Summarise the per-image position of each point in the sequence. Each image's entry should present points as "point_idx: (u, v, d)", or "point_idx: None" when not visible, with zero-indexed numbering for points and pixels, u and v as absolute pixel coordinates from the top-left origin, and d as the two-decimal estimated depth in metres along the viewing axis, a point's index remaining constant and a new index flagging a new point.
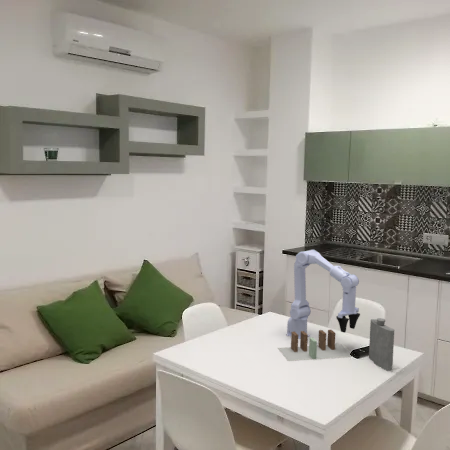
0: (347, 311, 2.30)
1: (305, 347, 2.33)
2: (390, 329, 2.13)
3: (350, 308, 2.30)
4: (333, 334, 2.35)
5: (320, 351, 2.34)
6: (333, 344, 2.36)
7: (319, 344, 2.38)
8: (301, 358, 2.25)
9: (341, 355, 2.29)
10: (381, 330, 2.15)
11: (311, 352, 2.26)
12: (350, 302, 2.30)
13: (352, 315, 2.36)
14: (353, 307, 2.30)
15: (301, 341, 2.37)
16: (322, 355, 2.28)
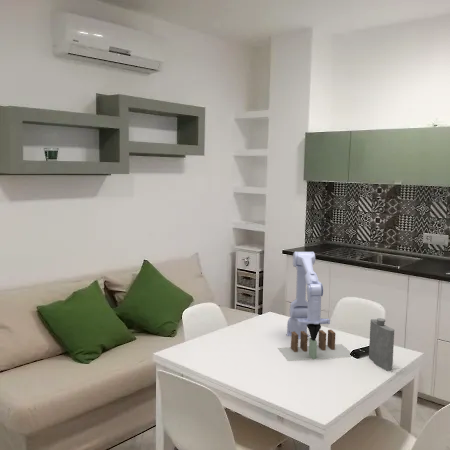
0: (308, 320, 2.24)
1: (305, 347, 2.33)
2: (390, 329, 2.13)
3: (311, 317, 2.23)
4: (333, 334, 2.35)
5: (320, 351, 2.34)
6: (333, 344, 2.36)
7: (319, 344, 2.38)
8: (301, 358, 2.25)
9: (341, 355, 2.29)
10: (381, 330, 2.15)
11: (311, 352, 2.26)
12: (310, 311, 2.23)
13: (314, 326, 2.26)
14: (315, 317, 2.22)
15: (301, 341, 2.37)
16: (322, 355, 2.28)
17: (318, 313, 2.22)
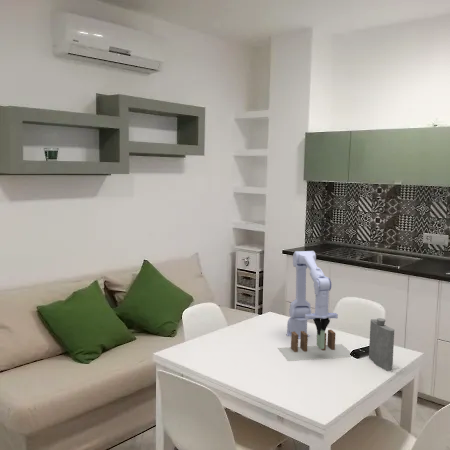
0: (316, 314, 2.24)
1: (305, 347, 2.33)
2: (390, 329, 2.13)
3: (319, 311, 2.23)
4: (333, 334, 2.35)
5: (320, 351, 2.34)
6: (333, 344, 2.36)
7: None
8: (301, 358, 2.25)
9: (341, 355, 2.29)
10: (381, 330, 2.15)
11: (319, 342, 2.26)
12: (319, 305, 2.23)
13: (322, 320, 2.26)
14: (322, 311, 2.23)
15: (301, 341, 2.37)
16: (322, 355, 2.28)
17: (326, 307, 2.23)
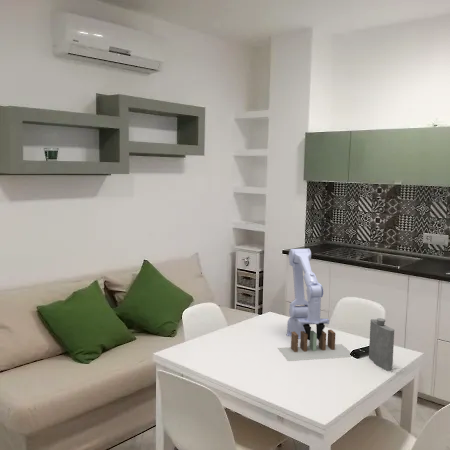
0: (309, 320, 2.33)
1: (305, 347, 2.33)
2: (390, 329, 2.13)
3: (311, 317, 2.32)
4: (333, 334, 2.35)
5: (320, 351, 2.34)
6: (333, 344, 2.36)
7: (319, 344, 2.38)
8: (301, 358, 2.25)
9: (341, 355, 2.29)
10: (381, 330, 2.15)
11: (311, 344, 2.36)
12: (311, 311, 2.32)
13: (318, 326, 2.36)
14: (315, 317, 2.32)
15: (301, 341, 2.37)
16: (322, 355, 2.28)
17: (318, 313, 2.32)
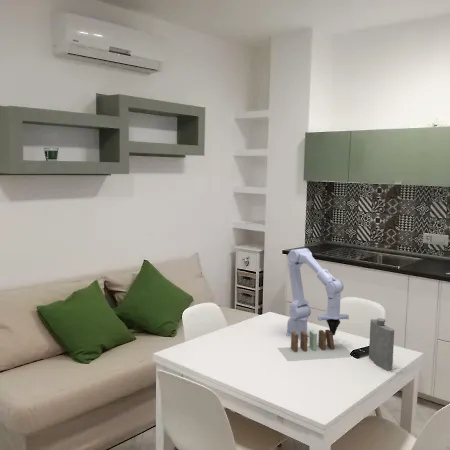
0: (328, 315, 2.35)
1: (305, 347, 2.33)
2: (390, 329, 2.13)
3: (331, 313, 2.34)
4: (330, 334, 2.35)
5: (320, 351, 2.34)
6: (332, 344, 2.36)
7: (319, 344, 2.38)
8: (301, 358, 2.25)
9: (341, 355, 2.29)
10: (381, 330, 2.15)
11: (311, 344, 2.36)
12: (334, 307, 2.33)
13: None
14: (334, 312, 2.34)
15: (301, 341, 2.37)
16: (322, 355, 2.28)
17: (338, 309, 2.34)
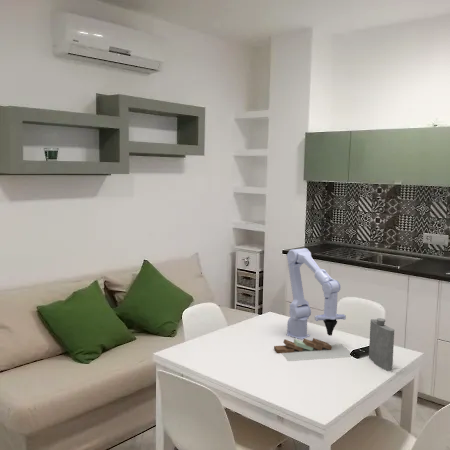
0: (325, 315, 2.35)
1: (298, 348, 2.33)
2: (390, 329, 2.13)
3: (328, 313, 2.34)
4: (317, 344, 2.34)
5: (320, 351, 2.34)
6: (326, 346, 2.35)
7: None
8: (301, 358, 2.25)
9: (341, 355, 2.29)
10: (381, 330, 2.15)
11: None
12: (330, 307, 2.33)
13: None
14: (331, 312, 2.33)
15: None
16: (322, 355, 2.28)
17: (334, 309, 2.34)
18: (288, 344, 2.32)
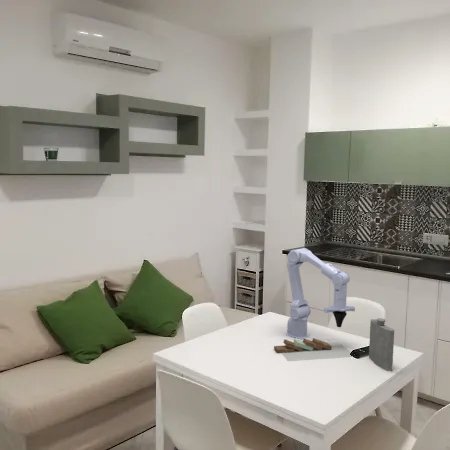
0: (335, 307, 2.35)
1: (298, 348, 2.33)
2: (390, 329, 2.13)
3: (337, 305, 2.34)
4: (317, 344, 2.34)
5: (320, 351, 2.34)
6: (326, 346, 2.35)
7: None
8: (301, 358, 2.25)
9: (341, 355, 2.29)
10: (381, 330, 2.15)
11: None
12: (341, 299, 2.33)
13: None
14: (341, 304, 2.34)
15: None
16: (322, 355, 2.28)
17: (344, 301, 2.34)
18: (288, 344, 2.32)
